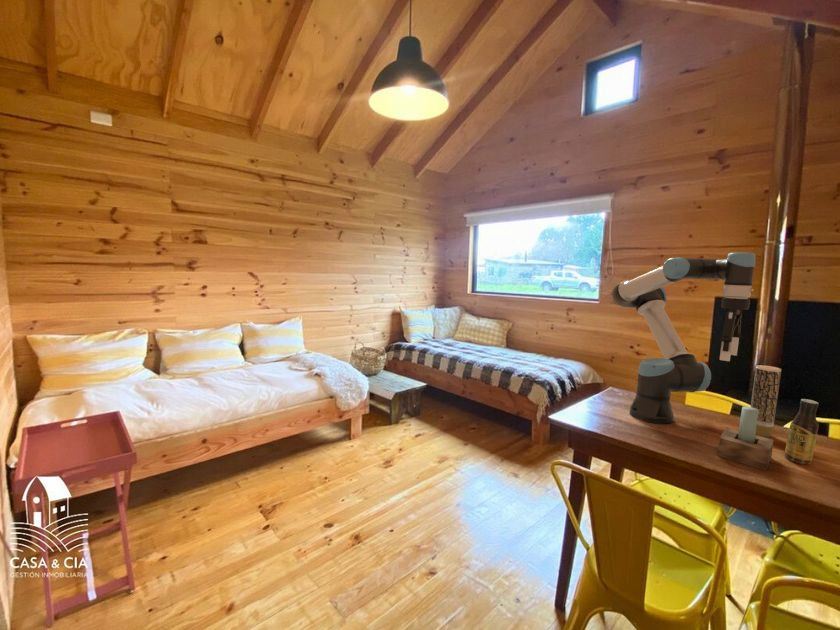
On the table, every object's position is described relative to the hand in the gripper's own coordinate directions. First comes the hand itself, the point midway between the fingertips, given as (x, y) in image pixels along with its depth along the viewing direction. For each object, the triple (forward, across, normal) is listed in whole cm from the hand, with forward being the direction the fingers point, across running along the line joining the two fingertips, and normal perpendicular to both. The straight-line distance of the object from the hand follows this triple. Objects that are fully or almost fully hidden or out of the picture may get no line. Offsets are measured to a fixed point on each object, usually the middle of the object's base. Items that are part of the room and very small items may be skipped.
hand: (728, 357), depth 136 cm
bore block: (+29, -14, -9) cm, 33 cm away
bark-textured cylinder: (+29, +13, -10) cm, 33 cm away
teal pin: (+27, -14, -9) cm, 31 cm away
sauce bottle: (+29, -4, -21) cm, 36 cm away
